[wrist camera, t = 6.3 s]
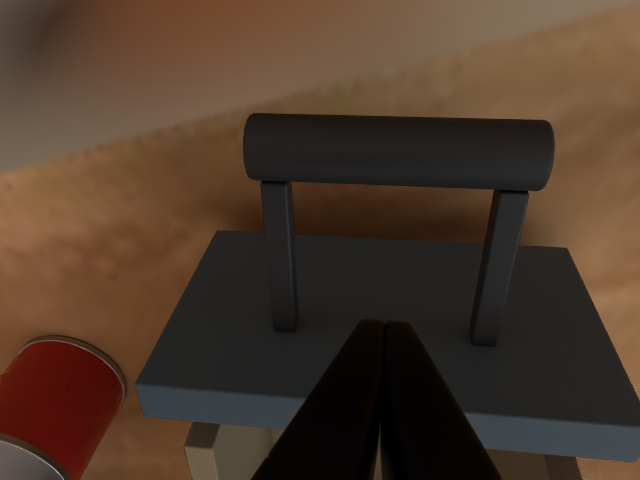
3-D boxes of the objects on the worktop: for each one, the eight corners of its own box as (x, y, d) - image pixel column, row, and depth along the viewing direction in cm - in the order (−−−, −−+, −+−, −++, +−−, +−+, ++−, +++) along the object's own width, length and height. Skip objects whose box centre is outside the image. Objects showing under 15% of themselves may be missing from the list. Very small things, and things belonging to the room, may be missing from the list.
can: (39, 407, 26) (-31, 508, 22) (3, 331, 23) (-85, 430, 19) (137, 416, 26) (85, 522, 21) (112, 339, 23) (46, 443, 19)
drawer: (190, 57, 15) (62, 159, 9) (620, 62, 14) (779, 184, 8) (255, 492, 26) (217, 654, 21) (490, 517, 25) (517, 697, 20)
